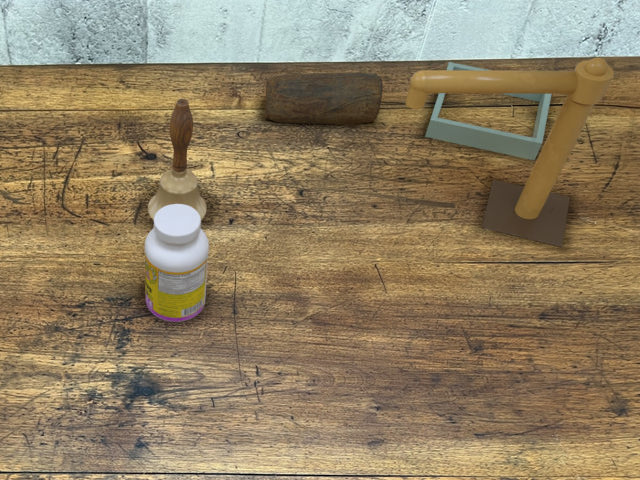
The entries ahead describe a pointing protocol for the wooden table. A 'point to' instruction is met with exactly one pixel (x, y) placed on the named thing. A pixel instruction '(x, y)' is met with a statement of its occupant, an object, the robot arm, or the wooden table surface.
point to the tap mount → (539, 186)
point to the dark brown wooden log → (324, 98)
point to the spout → (515, 82)
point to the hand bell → (179, 167)
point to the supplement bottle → (176, 264)
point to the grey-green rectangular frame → (490, 137)
